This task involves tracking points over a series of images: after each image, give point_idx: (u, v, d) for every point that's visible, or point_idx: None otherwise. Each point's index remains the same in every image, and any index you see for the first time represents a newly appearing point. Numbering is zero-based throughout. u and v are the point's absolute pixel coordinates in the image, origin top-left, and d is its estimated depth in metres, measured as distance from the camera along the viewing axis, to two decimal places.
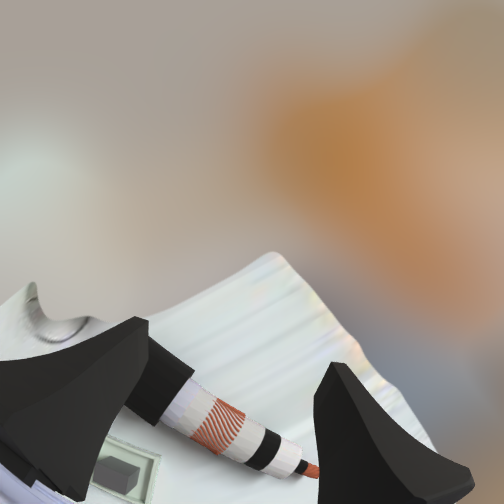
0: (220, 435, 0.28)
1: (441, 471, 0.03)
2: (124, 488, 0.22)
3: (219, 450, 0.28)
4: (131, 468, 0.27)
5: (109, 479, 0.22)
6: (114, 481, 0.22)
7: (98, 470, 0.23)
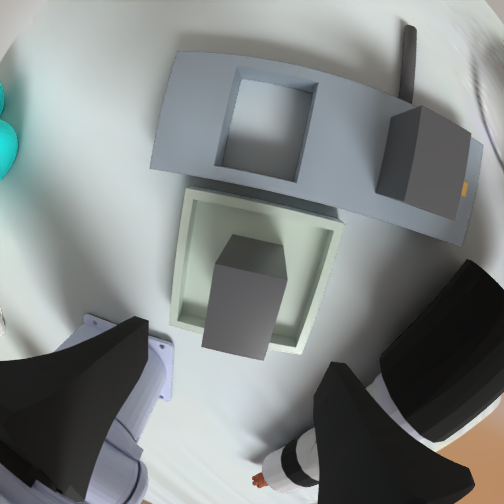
0: None
1: (441, 471, 0.03)
2: (224, 347, 0.14)
3: None
4: None
5: (239, 315, 0.14)
6: (238, 327, 0.14)
7: (260, 286, 0.13)
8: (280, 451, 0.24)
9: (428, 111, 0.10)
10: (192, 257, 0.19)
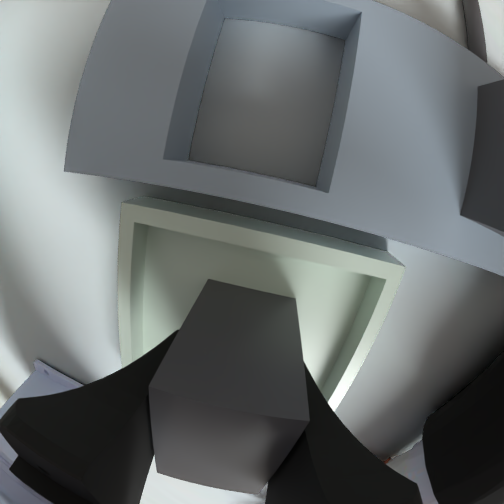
0: None
1: (380, 484, 0.03)
2: (192, 479, 0.06)
3: None
4: None
5: (212, 456, 0.06)
6: (211, 467, 0.06)
7: (249, 430, 0.05)
8: None
9: None
10: (148, 311, 0.11)
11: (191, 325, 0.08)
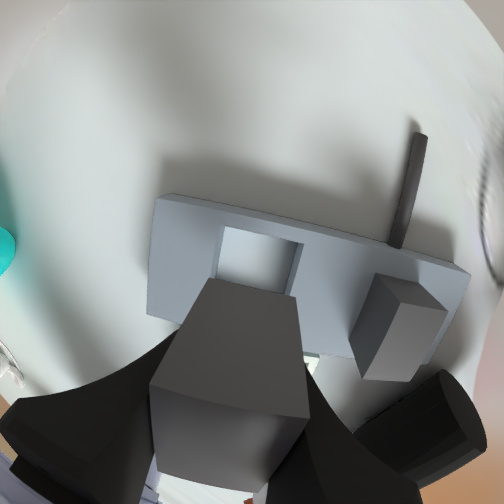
0: None
1: (380, 484, 0.03)
2: (192, 478, 0.07)
3: None
4: None
5: (212, 455, 0.06)
6: (211, 465, 0.06)
7: (250, 427, 0.05)
8: None
9: (406, 306, 0.12)
10: None
11: (192, 323, 0.08)
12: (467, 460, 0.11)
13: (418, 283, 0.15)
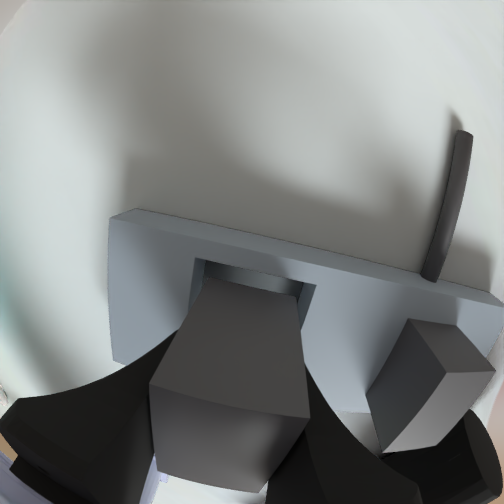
0: None
1: (380, 484, 0.03)
2: (192, 478, 0.07)
3: None
4: None
5: (212, 454, 0.06)
6: (211, 465, 0.06)
7: (250, 427, 0.05)
8: None
9: (452, 375, 0.07)
10: None
11: (191, 323, 0.08)
12: None
13: (456, 326, 0.11)
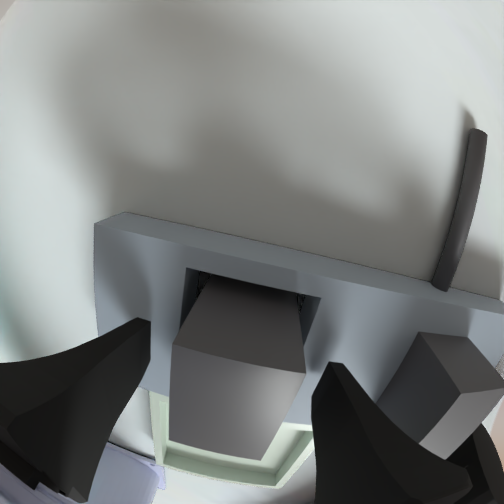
0: None
1: (438, 472, 0.03)
2: (201, 445, 0.08)
3: None
4: None
5: (222, 415, 0.07)
6: (220, 428, 0.07)
7: (256, 383, 0.07)
8: None
9: (466, 395, 0.06)
10: None
11: (205, 299, 0.09)
12: None
13: (467, 337, 0.10)
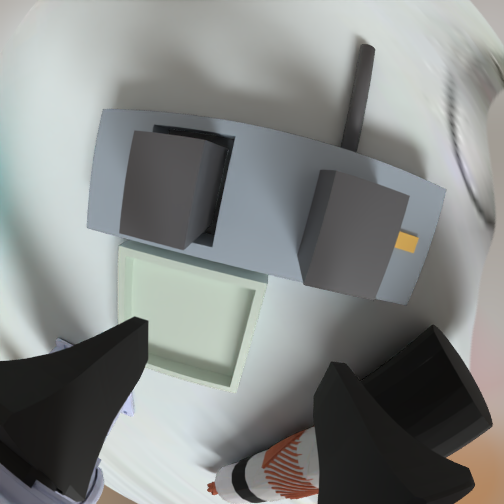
0: (296, 494, 0.17)
1: (441, 471, 0.03)
2: (141, 233, 0.12)
3: (271, 482, 0.18)
4: (207, 216, 0.16)
5: (155, 187, 0.12)
6: (154, 203, 0.12)
7: (176, 150, 0.11)
8: (232, 467, 0.24)
9: (346, 176, 0.10)
10: (134, 302, 0.20)
11: None
12: (471, 435, 0.10)
13: None
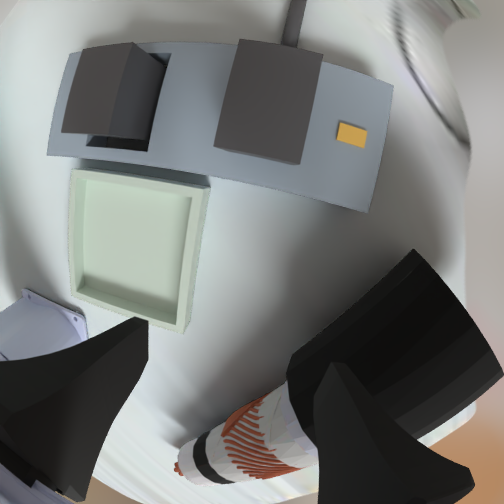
0: (260, 471, 0.16)
1: (441, 471, 0.03)
2: (77, 128, 0.11)
3: (231, 454, 0.17)
4: (146, 126, 0.15)
5: (92, 86, 0.10)
6: (89, 99, 0.10)
7: (110, 54, 0.10)
8: (196, 439, 0.23)
9: (249, 42, 0.09)
10: (86, 232, 0.18)
11: None
12: (479, 382, 0.08)
13: None
